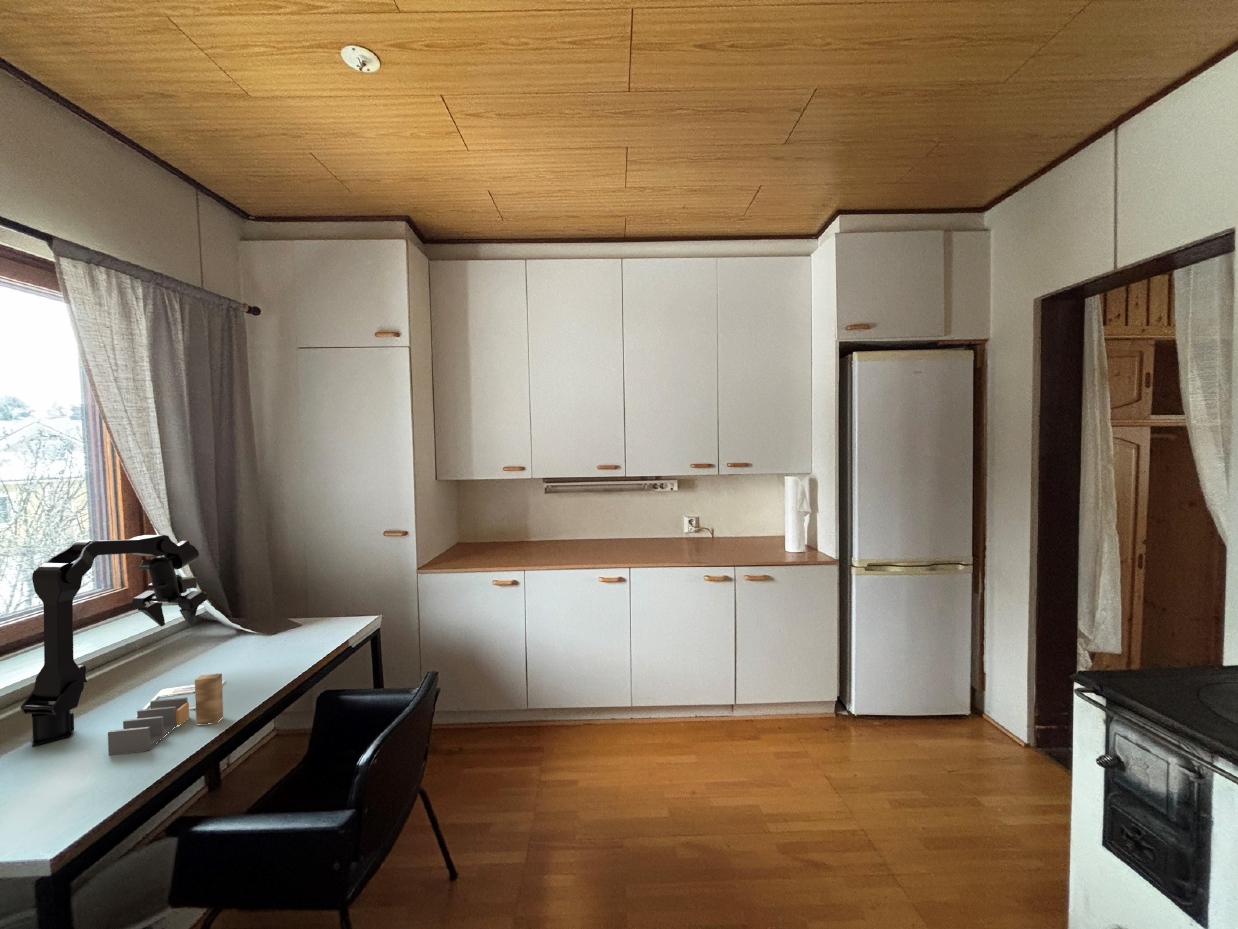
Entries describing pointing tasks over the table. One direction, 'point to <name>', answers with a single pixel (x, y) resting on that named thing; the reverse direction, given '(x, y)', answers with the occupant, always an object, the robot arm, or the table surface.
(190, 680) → the table surface
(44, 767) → the table surface
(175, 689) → the photo frame
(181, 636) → the table surface
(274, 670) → the table surface
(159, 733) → the rack
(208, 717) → the wooden block
